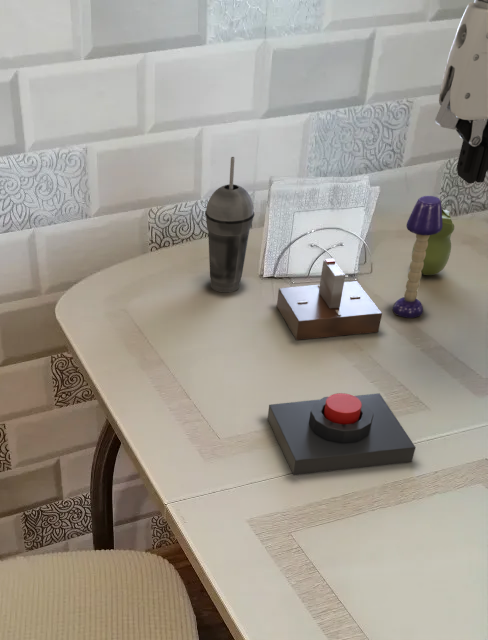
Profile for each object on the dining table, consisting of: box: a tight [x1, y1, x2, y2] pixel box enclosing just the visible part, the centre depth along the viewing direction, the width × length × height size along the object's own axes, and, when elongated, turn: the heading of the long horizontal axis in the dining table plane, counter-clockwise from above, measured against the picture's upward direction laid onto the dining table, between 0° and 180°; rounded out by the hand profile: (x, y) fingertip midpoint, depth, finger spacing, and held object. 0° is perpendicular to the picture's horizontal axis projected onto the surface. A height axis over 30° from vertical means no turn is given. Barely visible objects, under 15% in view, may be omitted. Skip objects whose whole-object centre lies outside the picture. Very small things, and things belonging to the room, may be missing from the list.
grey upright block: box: [319, 258, 346, 308], centre depth 113 cm, size 5×2×5 cm, turn 7°
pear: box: [411, 209, 455, 276], centre depth 123 cm, size 6×5×10 cm
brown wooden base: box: [276, 280, 383, 341], centre depth 115 cm, size 12×10×3 cm
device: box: [267, 392, 416, 476], centre depth 94 cm, size 14×11×4 cm
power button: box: [324, 392, 362, 425], centre depth 92 cm, size 4×4×2 cm
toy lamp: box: [392, 195, 443, 319], centre depth 112 cm, size 5×5×17 cm
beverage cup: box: [204, 156, 255, 293], centre depth 119 cm, size 7×7×20 cm
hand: (470, 178), depth 89 cm, fingers closed
